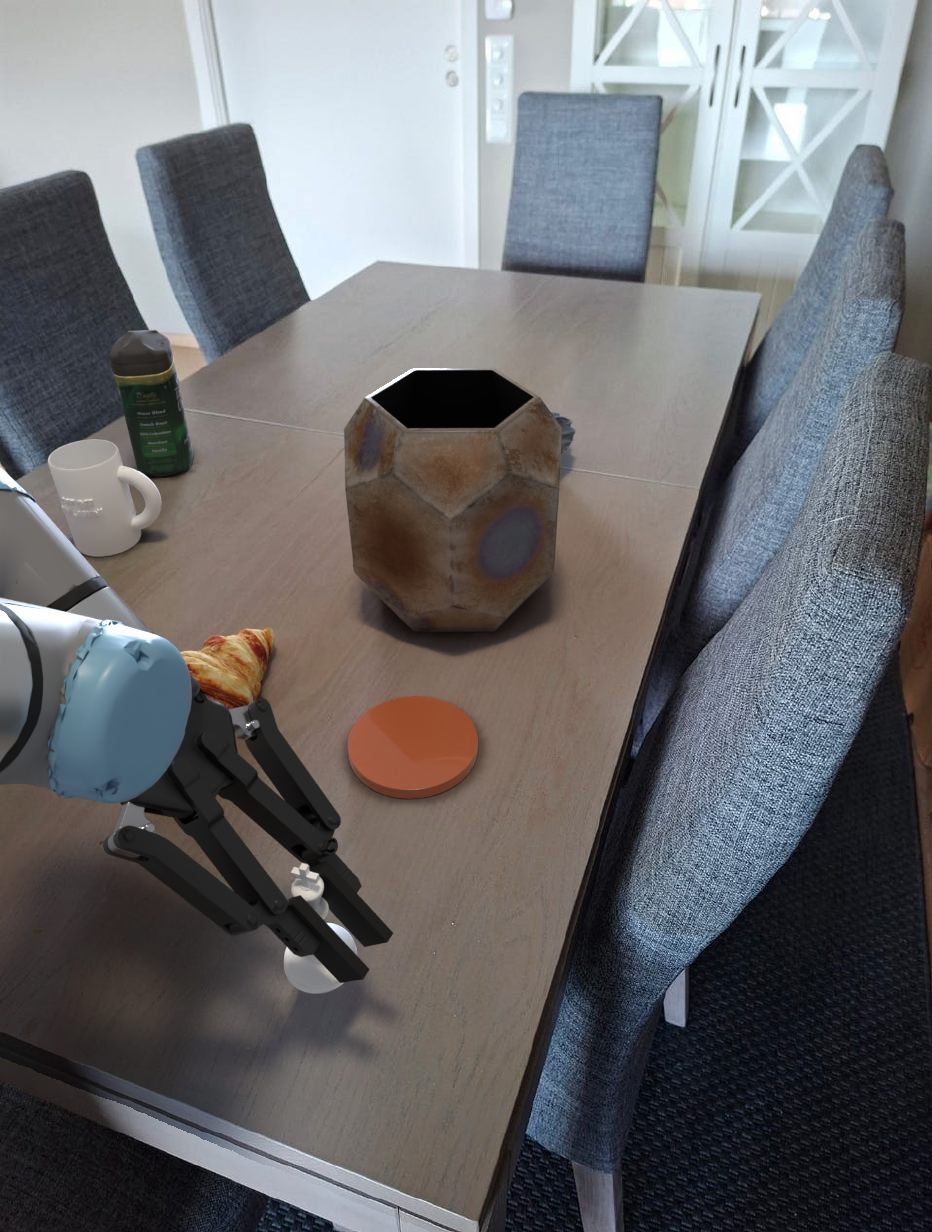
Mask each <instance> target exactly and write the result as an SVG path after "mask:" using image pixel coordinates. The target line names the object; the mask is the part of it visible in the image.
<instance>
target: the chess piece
mask: <svg viewBox="0 0 932 1232" xmlns="http://www.w3.org/2000/svg"><path fill="white" fill-rule="evenodd" d="M309 867H310V866H309V865H308V864H305V863H302V862H301V864H300V866H299V867H296V866H293V868H292V869H291V870H290V876H291V878H295V880H294V881H293V882H292V884H291V887H290V891H291V895H292V897H296V896H299V895H301V896H302V897H303V898H304V899H305V900H306V902H307V903H308V904H309V905H310V906H311V907H312V908H313V909H314V910H315V911H316V912H317V913H318V914H319V915H320V917H321V918H322V919H323V920H324V921H325V919H326V918H327V916H328V915H329V911H330V910H329V906H328V903H327V902H326V900H325V899H324V898H323V897H321V896H322V894H323V890H324V883H323V880H322V879H321V878H320V877H319V874H317V873H314V872H310V870H309ZM326 923H327V924H328V925H329V926H330V927H331V928H332V929H333V930H334V932H335V933H336V934H337V935H338V936H339V937H340V938H341V939H342V940H343V941H344V942H345V943H346V944H347V945H348V946H349V948H350V949H351V950H352V951H353V952H354V953H355V954H356V955H357V956H358V948H357V945H356V943H355V939H353V935H352V934H351V933H350V931H349V930H346V929H345V928H344V927H342V926H340V925H338V924H336V923H333V922H332V923H331V922H326ZM285 947H286V948H285V951H284V955H283V969H284V974H285V977H286V979H287V980H288V982H289V983H290V984H291V985H292V986H293V988H296V989H297V990H299V991H301V992H303V993H307V994H313V995H315V994H317V995H318V994H325V993H329V992H332V991H333V990H336V989H338V988H340V987H341V986H342V985H343V984H344V983H340V982H339V981H338V980H337V979H336V978H335V977H334V976H333V975H332V974H331V973H330V972H329V971H328V970H327V969H326V968H325V967H324V966H323V965H322V963H321V962H320V961H319V960H318V959H317V958H316V957H315V956H314V955H309V956H304V957H299V956H297V955H295V954H293V953H292V952H291V951H290V950H289V949H288V947H287V946H285ZM358 957H359V956H358Z"/></svg>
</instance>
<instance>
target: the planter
mask: <svg viewBox="0 0 932 1232" xmlns="http://www.w3.org/2000/svg"><path fill="white" fill-rule="evenodd" d="M551 412H552V411H551V410H550V408H549V407H548V406H547V405H546V403H545V402H544V401H543V399H542V398H541V397H540V396H539V395H538V394H535V392H533V391H531V390H529V389H528V388H526V387H525V386H523V385H521V384H520V383H519V382H517V381H516V380H514V379H513V378H510V377H509V376H508V375H506V374H504V373H503V372H501V371H500V370H498V369H497V368H493V367H491V368H490V367H489V368H488V367H487V368H480V367H479V368H478V367H477V368H476V367H475V368H471V367H470V368H467V367H466V368H412V369H410V370H408V371H407V372H404V374H402V375H400V376H398V377H397V378H395V379H393V380H392V381H391V382H389V383H387V384H385V385H384V386H382V387H380V388H379V389H377V390H376V391H374V392H372V393H371V394H368V395H367V396H366V397H363V399H362V401H361V402H360V404H359V405H358V407H357V409H356V410H355V411H354V413H353V414H352V416H351V417H350V419H349V421H348V422H347V423H346V425H345V427H344V429H343V437H344V441H343V442H344V445H343V446H344V489H345V500H346V508H347V518H348V528H349V529H348V530H349V537H350V547H351V556H352V566H353V573H354V574H355V575H356V576H357V577H358V579H360V580H361V581H362V582H363V583H364V584H365V585H366V586H367V587H368V588H369V589H370V590H371V591H372V592H373V593H374V594H375V595H376V596H377V597H378V598H379V599H380V600H381V601H382V602H383V603H384V604H385V605H386V606H387V607H388V608H389V609H390V610H391V611H392V612H393V613H394V614H395V615H397V616H398V618H399V619H400V620H401V621H403V622H404V623H405V625H406V626H408V627H409V628H410V629H411V630H412V632H418V633H419V632H421V633H422V632H426V633H427V632H428V633H429V632H430V633H431V632H435V633H438V632H440V633H441V632H443V633H444V632H445V633H447V632H449V633H451V632H453V633H454V632H456V633H458V632H461V633H462V632H463V633H464V632H467V633H468V632H469V633H470V632H472V633H473V632H475V633H476V632H479V633H481V632H482V633H483V632H492V633H493V632H496V631H497V630H499V628H500V627H501V626H502V625H503V624H504V623H505V621H506V620H507V619H508V618H509V617H510V616H511V615H512V614H514V612H515V611H517V610H518V608H519V607H520V606H521V605H523V604H524V602H525V601H527V599H528V598H530V596H531V595H532V594H534V593H535V592H536V591H537V590H538V589H539V588H540V586H542V585H543V584H544V583H545V582H546V581H547V580H548V579H549V578H550V577H551V576H552V575H553V574H554V572H555V564H556V563H555V562H556V548H557V532H558V531H557V530H558V517H559V501H560V484H561V458H562V457H561V456H562V454H561V436H562V427H561V426H560V424H559V423H558V422H557V420H556V419H555V417H554V416H553V415H552V413H551Z"/></svg>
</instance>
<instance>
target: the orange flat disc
mask: <svg viewBox="0 0 932 1232" xmlns="http://www.w3.org/2000/svg"><path fill="white" fill-rule="evenodd" d="M478 751H479V738H478V731H477V729H476V726H475V724H474V722H473V720H472V719H471V718H470V716H469V715H468V714H466V712H464V711H463V710H462V709H461V708H460V707H458V706H457V705H454V704H453V703H451V702H448V701H446V700H443V699H440V698H437V697H432V696H425V695H410V696H408V695H407V696H401V697H396V698H392V699H389V700H386V701H383V702H381V703H379V704H377V705H375V706H373V707H371V708H370V709H369V710H367V711H366V712H364V713H363V714H362V715H361V716H360V717H359V718H358V719H357V721H356V722H355V723H354V724H353V726H352V728H351V731H350V732H349V735H348V740H347V755H348V761H349V765H350V768H351V770H352V771H353V773H354V775H355V776H356V778H357V779H358V780H359V781H360V782H361V783H362V784H363V785H364V786H366V787H367V788H369V789H370V790H372V791H374V792H376V793H378V794H381V795H383V796H386V797H391V798H397V799H405V800H412V799H414V800H415V799H423V798H428V797H429V798H430V797H433V796H437V795H439V794H442V793H444V792H446V791H448V790H450V789H452V788H454V787H455V786H457V785H458V784H459V783H461V782H462V781H463V780H464V779H465V778H466V777H467V776H469V774H470V772H471V771H472V769H473V768H474V766H475V765H476V764H475V763H476V761H477V757H478V754H479V753H478Z"/></svg>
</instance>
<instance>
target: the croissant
mask: <svg viewBox="0 0 932 1232" xmlns="http://www.w3.org/2000/svg"><path fill="white" fill-rule="evenodd" d="M275 642H276V635H275V632H274V630H273V628H271V627H266V628H264V629H257V628H244V629H240V630H239V632H238V633H237V634H232V635H227V636H225V635H217V634H212V635H210V636H208V637H207V638H206V639H204V642H203V646H202V648H201V650H196V651H195V650H183V651H179V652H180V653H181V655H182V656H183V658H184V660H185V662H186V664H187V667H188V670H189V673H190V674H191V675H192V676H193V677H194V678H195V679H196V680H197V681H198V683H199V684H200V687H201V689H202V691H203V692H204V694H205V695H206V696H207V697H208V698H210V699H212V700H213V701H216V702H218V703H221V704H223V705H224V706H225V707H226V708H227V709H228V710H229V709H233V708H238V707H242V706H247V705H249V704H250V703H252V702H253V701H255V700H256V699H258V697H259V695H260V692H261V689H262V684H261V681H263V678H264V674H265V673H266V671H267V668H268V661H269V659H270V657H271V655H272V653H273V649H274V645H275Z"/></svg>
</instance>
